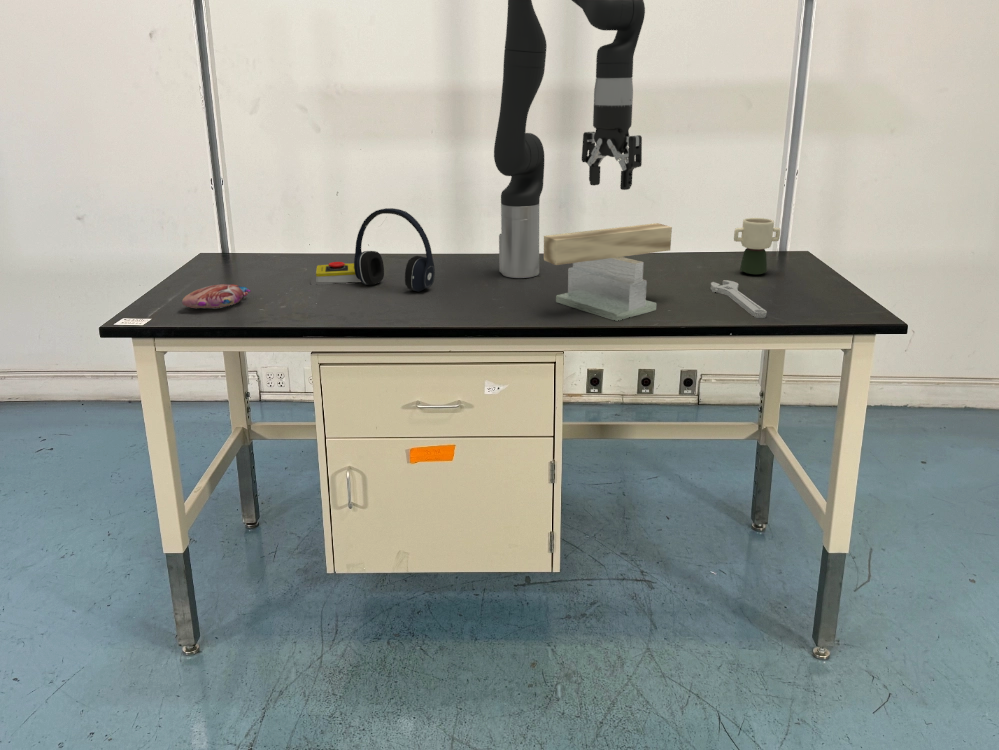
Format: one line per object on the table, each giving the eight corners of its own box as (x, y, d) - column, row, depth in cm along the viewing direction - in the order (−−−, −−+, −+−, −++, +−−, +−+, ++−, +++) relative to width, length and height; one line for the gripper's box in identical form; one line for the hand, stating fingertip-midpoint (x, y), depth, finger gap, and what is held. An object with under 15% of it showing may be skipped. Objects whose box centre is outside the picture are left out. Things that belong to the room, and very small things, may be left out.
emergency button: (310, 260, 197) (371, 257, 199) (311, 277, 199) (372, 274, 201) (308, 269, 189) (372, 266, 191) (310, 287, 190) (373, 283, 192)
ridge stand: (555, 302, 174) (556, 252, 170) (595, 292, 181) (596, 244, 177) (616, 321, 161) (618, 267, 157) (656, 309, 168) (659, 258, 164)
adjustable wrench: (768, 320, 162) (769, 311, 162) (736, 320, 162) (737, 312, 162) (733, 286, 186) (734, 279, 185) (706, 287, 186) (706, 280, 185)
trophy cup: (770, 269, 199) (777, 217, 194) (779, 277, 192) (786, 223, 187) (726, 270, 199) (731, 217, 194) (734, 277, 192) (739, 223, 187)
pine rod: (543, 260, 164) (543, 235, 162) (656, 245, 175) (657, 223, 173) (555, 265, 160) (556, 240, 158) (670, 250, 171) (671, 227, 169)
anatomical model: (230, 320, 169) (261, 287, 181) (220, 296, 166) (253, 265, 178) (186, 323, 172) (220, 291, 184) (176, 300, 169) (211, 268, 181)
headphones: (439, 288, 186) (436, 209, 179) (423, 296, 180) (419, 214, 174) (368, 279, 195) (363, 203, 188) (351, 286, 189) (345, 208, 182)
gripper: (653, 103, 153) (648, 189, 159) (600, 100, 164) (597, 181, 169) (626, 104, 149) (622, 193, 155) (573, 102, 159) (571, 185, 165)
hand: (609, 187), depth 162 cm, fingers open, 8 cm apart
